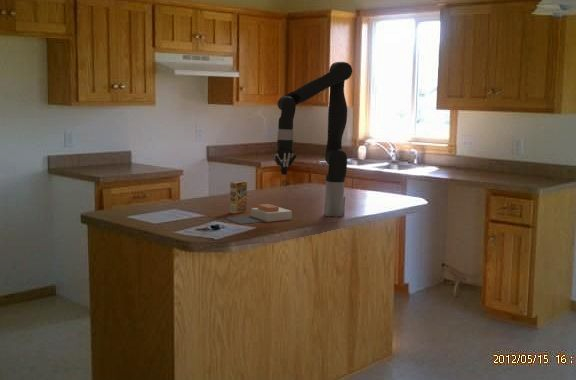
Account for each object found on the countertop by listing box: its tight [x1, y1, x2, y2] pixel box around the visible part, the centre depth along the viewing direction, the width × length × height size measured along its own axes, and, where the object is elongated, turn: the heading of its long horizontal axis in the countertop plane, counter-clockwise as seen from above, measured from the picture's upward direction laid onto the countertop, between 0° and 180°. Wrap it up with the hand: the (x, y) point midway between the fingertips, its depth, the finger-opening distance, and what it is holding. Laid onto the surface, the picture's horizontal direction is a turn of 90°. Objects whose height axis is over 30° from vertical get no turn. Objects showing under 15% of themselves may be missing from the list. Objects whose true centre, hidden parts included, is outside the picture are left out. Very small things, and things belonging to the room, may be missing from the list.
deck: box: [250, 206, 293, 223], centre depth 328 cm, size 14×14×4 cm
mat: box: [224, 215, 266, 225], centre depth 320 cm, size 14×14×1 cm
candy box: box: [229, 180, 248, 215], centre depth 338 cm, size 9×4×15 cm, turn 146°
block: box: [257, 203, 280, 212], centre depth 326 cm, size 6×9×2 cm, turn 36°
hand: (283, 174), depth 329 cm, fingers closed
